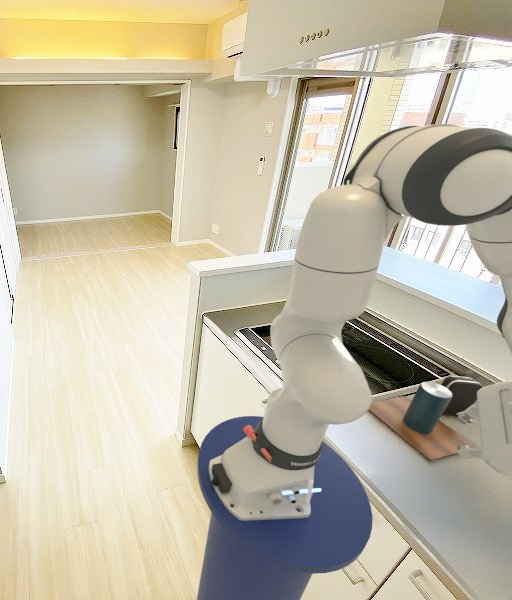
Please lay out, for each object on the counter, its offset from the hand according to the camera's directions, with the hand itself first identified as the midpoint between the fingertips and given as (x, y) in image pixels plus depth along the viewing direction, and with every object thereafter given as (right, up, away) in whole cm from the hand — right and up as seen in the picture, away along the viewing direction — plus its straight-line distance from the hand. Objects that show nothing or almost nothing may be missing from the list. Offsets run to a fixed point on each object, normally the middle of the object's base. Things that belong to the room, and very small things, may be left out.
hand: (459, 435), depth 66 cm
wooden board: (+10, -6, +20) cm, 23 cm away
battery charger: (+22, -4, +24) cm, 33 cm away
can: (+10, -5, +20) cm, 23 cm away
